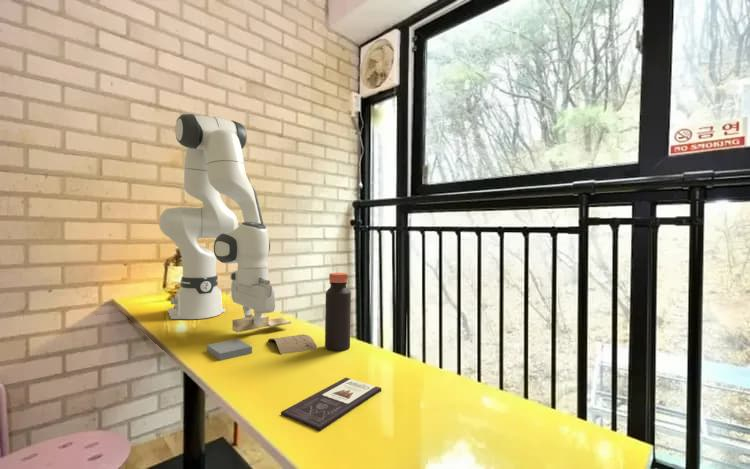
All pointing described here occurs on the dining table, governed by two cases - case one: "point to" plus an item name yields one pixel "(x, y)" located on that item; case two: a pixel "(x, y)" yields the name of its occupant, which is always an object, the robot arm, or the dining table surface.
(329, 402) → the chocolate bar
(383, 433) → the dining table surface
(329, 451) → the dining table surface
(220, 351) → the grey framed square panel
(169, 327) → the dining table surface
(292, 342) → the curved brown bark piece
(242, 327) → the stepped wooden block
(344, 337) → the bottle
